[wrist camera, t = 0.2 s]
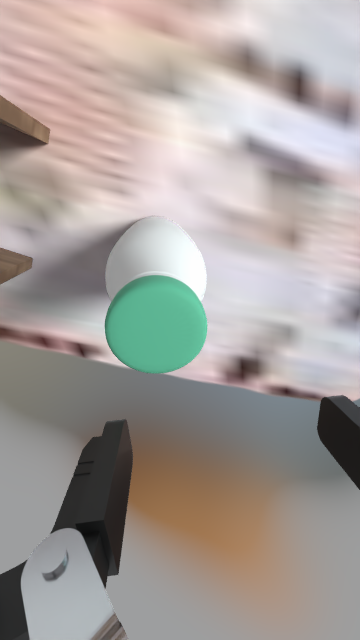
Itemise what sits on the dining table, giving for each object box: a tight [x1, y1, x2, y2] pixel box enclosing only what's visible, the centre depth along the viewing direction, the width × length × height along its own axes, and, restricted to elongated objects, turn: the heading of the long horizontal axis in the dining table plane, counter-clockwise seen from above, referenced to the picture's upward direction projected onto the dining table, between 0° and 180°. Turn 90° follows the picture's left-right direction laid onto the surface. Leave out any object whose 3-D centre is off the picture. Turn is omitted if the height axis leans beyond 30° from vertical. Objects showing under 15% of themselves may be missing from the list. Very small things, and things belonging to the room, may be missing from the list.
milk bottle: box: [105, 216, 207, 373], centre depth 19 cm, size 8×8×20 cm
